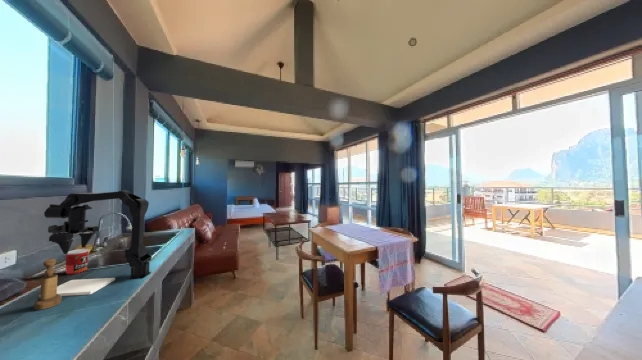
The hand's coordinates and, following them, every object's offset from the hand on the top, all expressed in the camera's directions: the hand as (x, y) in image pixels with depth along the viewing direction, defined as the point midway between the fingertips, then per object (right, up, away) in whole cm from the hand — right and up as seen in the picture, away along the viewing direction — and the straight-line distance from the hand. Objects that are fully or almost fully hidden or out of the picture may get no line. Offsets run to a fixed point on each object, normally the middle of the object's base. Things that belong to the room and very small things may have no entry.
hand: (74, 250), depth 100 cm
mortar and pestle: (+13, -15, -20) cm, 28 cm away
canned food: (-11, -15, +10) cm, 21 cm away
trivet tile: (+11, -15, -7) cm, 20 cm away
